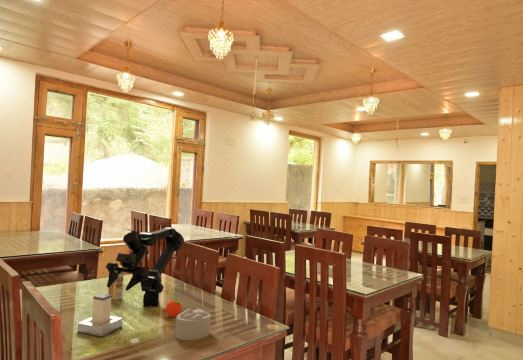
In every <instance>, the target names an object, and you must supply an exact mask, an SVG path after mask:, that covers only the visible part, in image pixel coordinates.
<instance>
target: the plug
mask: <svg viewBox="0 0 523 360" xmlns="http://www.w3.org/2000/svg"><path fill="white" fill-rule="evenodd" d="M92 298H93V299H92V313H91V314H92V316H91V317H92V323H95V324H100V325H102V324H104V323H107V322H109V321H110V316H111V308H112V307H111V306H112V298H111V295H110V294H108V293H103V292H102V293H99V294H96V295H94V296H93V297H92Z"/></svg>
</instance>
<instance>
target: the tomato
mask: <svg viewBox="0 0 523 360" xmlns="http://www.w3.org/2000/svg"><path fill="white" fill-rule="evenodd" d="M183 307H184V305H183V304H182V303H181V302H180V301H179V300H177V299H172V300H170V301H169V302H168V303H167V304H166V305H165V313H166V315H167V316H168V317H170V318H176V317H177V316H178V315H179V314H181V313H182V312H183V311H182V310H183Z"/></svg>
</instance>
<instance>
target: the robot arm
mask: <svg viewBox="0 0 523 360" xmlns="http://www.w3.org/2000/svg"><path fill="white" fill-rule="evenodd" d="M163 239H164V241H165V248H164V249H163V251H162V252H161V255H160V256H159V257H158V260H157V261H156V263H155V264H154V265H153V267H152V269H151V270H149V269H147V267H146V266H142V264H143V262H142V261H143V259H144V257H145V255H150V250H149V248H147V247H153V246H154V245H156V244H157V242H159V241H160V240H163ZM122 240H123V243H124V244H125V245H126V247H127V248H128V250H130V253H121V252H118V253H117V254H116V255H117V257H116V258H115V261H116V262H112V261H111V262H110V261H109V262H107V264H106V265H105V269H106V270H107V271H108V279H107V284H106V287H107V289H108V288H109V287H110V286H111V285H112V284H113V282H114V281H115V280H116V279H117V278H118V277H119V276H118V275H119V274H120V273H121V272H124V273H126V274H132V275H131V278H130V279H129V282H128V283H127V285H126V287H125V291H127V292H128V291H129V290H131V289H132V288H133V287H134V286H137V284H139V283H140V289H141V292H144V293H143V298H142V304H143V307H158V306H159V304H160V293H163V291H164V285H163V283H162V274H163V273H164V271H165V269H166V267H167V265H168V264H169V262H170V260H171V258H172V257H173V255H174V254H175V252H177V251H178V250H180V249H181V248H182V246H183V245H184V243H185V238H184V236H183V235H182V234H181V233H180V232H178V231H177V230H176V228H175V227H167V226H166V227H164V228H161V229H158V230H155V231H151V232H149V231H148V232H145V231H144V232H140V233H138V230H135V229H134V230H131V231H129V232H128V233H126V234H124V236H123V238H122ZM146 246H147V247H146ZM117 262H119V264H120V266H122V267H119V264H118V263H117Z"/></svg>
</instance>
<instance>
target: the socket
mask: <svg viewBox="0 0 523 360" xmlns="http://www.w3.org/2000/svg"><path fill="white" fill-rule="evenodd" d="M122 327H123V317H118V316H113V315H110V321H109V322H107V323H104V324H102V325H100V324H95V323H92V316H91V317H89V318H86V319H84V320H82V321H79V322H77V333H79V334H83V335H87V336H91V337H92V336H93V337H96V338H104V337H106V336H107V335H109V334H111V333H113V332H115V331H117V330H120V328H122Z"/></svg>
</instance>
